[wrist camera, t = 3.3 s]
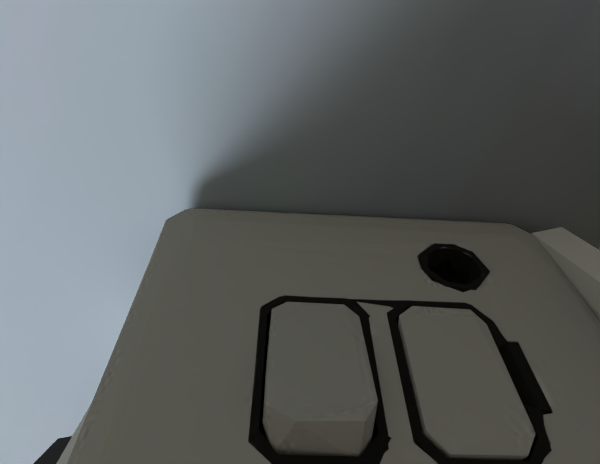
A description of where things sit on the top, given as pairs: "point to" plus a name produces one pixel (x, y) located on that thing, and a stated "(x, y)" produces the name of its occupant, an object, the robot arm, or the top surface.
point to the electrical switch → (348, 347)
